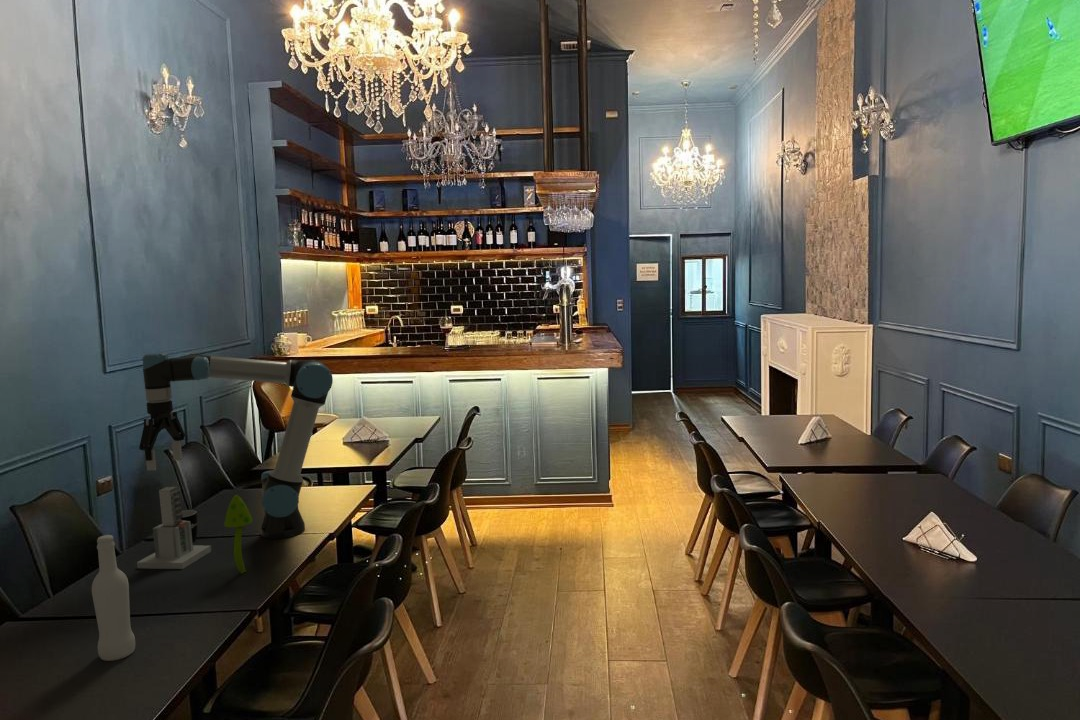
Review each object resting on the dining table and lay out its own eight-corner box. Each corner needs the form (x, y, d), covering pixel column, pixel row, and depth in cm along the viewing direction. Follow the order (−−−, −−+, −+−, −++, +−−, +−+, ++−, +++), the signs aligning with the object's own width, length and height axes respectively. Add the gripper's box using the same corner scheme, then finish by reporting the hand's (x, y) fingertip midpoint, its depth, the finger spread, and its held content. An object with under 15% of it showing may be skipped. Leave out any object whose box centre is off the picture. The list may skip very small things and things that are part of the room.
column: (186, 551, 258) (179, 486, 256) (178, 555, 254) (172, 490, 252) (172, 550, 259) (166, 486, 257) (165, 555, 255) (158, 490, 252)
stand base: (211, 551, 263) (207, 515, 262) (182, 568, 248) (179, 530, 246) (168, 550, 266) (164, 515, 265) (137, 568, 250) (133, 530, 249)
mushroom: (263, 569, 244) (256, 492, 242) (242, 578, 237) (235, 499, 234) (243, 566, 248) (236, 490, 245) (222, 575, 240) (215, 497, 238)
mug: (192, 545, 271) (189, 517, 269) (166, 546, 271) (164, 518, 270) (207, 534, 282) (205, 507, 281) (183, 534, 283) (181, 507, 282)
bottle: (108, 647, 194) (95, 532, 191) (141, 645, 195) (129, 529, 192) (92, 663, 186) (78, 543, 183) (127, 660, 187) (114, 540, 184)
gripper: (172, 395, 264) (178, 456, 266) (122, 407, 239) (129, 474, 242) (192, 394, 263) (198, 455, 265) (144, 407, 238) (150, 474, 240)
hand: (165, 464), depth 253 cm, fingers open, 13 cm apart
